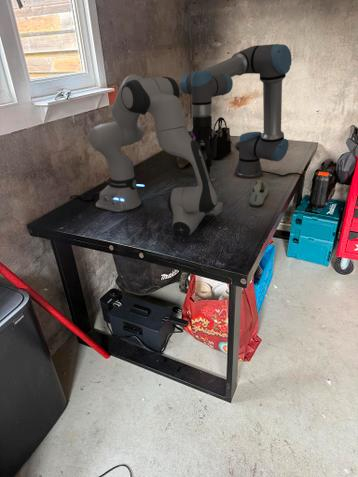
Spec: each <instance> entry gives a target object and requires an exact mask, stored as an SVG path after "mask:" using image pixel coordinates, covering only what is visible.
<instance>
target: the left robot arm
mask: <svg viewBox="0 0 358 477" xmlns="http://www.w3.org/2000/svg"><path fill="white" fill-rule="evenodd" d="M179 87H180V86H179V84H178V82H177V81H176V80H175V79H174V78H173V77H169V76H149V77H143V76H140V75H138V74H129V75H128V76H126V77H125V78H124V79H123V81H122V83H121V85H120V87H118V88H119V89H118V91H117V93H116V96H115V99H114V101H113V104H112V107H111V115H112V118H113V120H114V121H111V122H105V123H100V124H98V125H96V126H93V127H92V128H90V129H89V132H88V142H89V144H90V146H91V147H92V149H94V150H95V151H97V152H99V153H100V154H101V155H102V156H103V157H104V159H105V160H106V162H107V166H108V170H109V174H110V177H108V178H107V179H106V183H108V185H106V186H105V187H104V189H101V190H100V191H98V192H96V193H94V194H93V195H92V198H89V199H88V198H84V196H82V195H78V194H73V196H72V195H70V196H69V199H72V198H74V197H77V198H81V200H82V201H84V202H91V201H93V200H94V199H95V197H96V196H97V199H98V200H97V201H96V203H95V208H99V209H103V210H107V211H111V212H115V213H121V212H124V211H129V210H134V209H136V208H138V207H140V206H141V204H142V200H141V198H140V196H139V193H138V187H145V184H139V183H138V184H137V178H136V174H135V168H134V160H133V159H132V158H131V157H130V156H129V155H127V154H125V153H123V152H122V150H121V148H123V147H126V146H130V145H133V144H136V143H138V142H140V141H141V140H142V139H143V136H144V128H143V126H142V123H141V122H140V121H139V118H140V116H141V115H142V116H145V115H146V114H147V113H148V114H150V115H151V116H152V119H153V122H154V128H155V134H156V139H157V143H158V145H159V148H161V150H162V151H163V152H165V153H167V154H169V155H171V156H174V157H176V156H178V157H181V158H184V159H186V160H188V161H189V162H190V163H189V164H190V165H191V166H192V169H193V172H194V175H195V178H196V183H197V182H198V185H199V186H197V185H194V186H179V187H174V188H172V189H171V191H170V192H169V193H168V196H167V201H166V202H167V208H168V210H169V213H170V214H171V216H172V218H173V219H172V224H171V227H172V231H173V232H174V233H175V235H178V236H179V237H188V236H190V235H192V234H193V233H194V232H196V230H197V228H198V227H199V224H200V223H201V222H202V221H203V219H204V217H205V216H212V217H213V216H219V215H220V214H221V213H222V211H223V210H224V203H223V201H219V200H218V195H217V191H216V188H215V187H214V184H213V181H212V179H211V176H210V174H209V172H208V169H207V166H206V159H205V157H204V154H203V151H202V148H200V146H199V144H198V142H197V141H194V140H193V139H192V138H191V136H190V135H189V133H188V131H189V129H188V126H187V121H186V116H185V112H184V108H183V106H182V102H181V100H180V88H179Z"/></svg>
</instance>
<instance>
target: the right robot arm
mask: <svg viewBox="0 0 358 477" xmlns="http://www.w3.org/2000/svg"><path fill="white" fill-rule="evenodd" d="M292 61H293V58H292V52H291V50H290V48H289V47H288V46H287V45H286V44H280V43H272V44H260V45H259V44H258V45H253V46H249V47H247V48H245V49H242V50H240V51H238V52H235V53H233V54H232V55H231V57H230V58H228V59H225V60H223V61H221V62H218V63H216V64H214V65H211V66H210V67H206V68H204V69H202V70H196V71H193V72H192V73H188V74H184V75H182V77H181V78H180V81H179V87H180V91H181V92H182V93H183V94H185V95H190V96H191V107H192V108H191V114H192V129H191V130H188V131H189V132H188V133H189V135H190V136H191V138H192V139H193V134H194V135H195V137H196V138H195V141H197V142H198V144H199V146H200V142H201V141H204V143H205V147H204V148H205V155H206V159H205V163H206V166H207V169H208V172H209V175H210V173H211V167H212V166H213V160H214V159H213V158H215V157H216V154H217V138H218V136H219V133H215V132H214V131H213V128H212V126H213V116H212V114H213V110H212V106H213V104H212V101H213V100H212V99H213V97H214V98H215V97H219V96H224V95H227V94H230V93H231V91H232V89H233V85H234V81H233V77H235V76H237V77H238V76H243V75H247V74H251V75H253V74H254V75H255V74H256V75H257V74H258V75H259V81H261V83H262V100H263V101H262V102H263V103H262V104H263V106H262V107H263V108H262V109H263V110H262V111H263V114H262V115H263V116H262V117H263V132H261V131H250V132H244V133H242V134H240V136H239V141H238V142H239V150H238V162H237V165H236V167H235V170H234V174H235V176H236V177H239V178H243V179H255V178H259V177H261V176H262V175H263V173H265V174H269V175H275V176H279V177H287V176H289V175H292V176H293V175H298V176H300V177H301V178H305V176H304V174H302V173H300V172H287V173H285V174H280V173H277V172H273V171H267V170H263V169H262V165H261V160H267V161H270V162H280V161H282V160H283V159H284V158H285V156H286V154H287V152H288V150H289V145H290V144H289V141H288V139H287V138H285V133H284V132H283V131H282V110H283V109H282V102H283V81H284V79H285V78H286V75H287V74H288V73H289V71H290V70H291V66H292ZM211 134H212V138H213V139H212V152H211V146H210V138H209V137H210V135H211Z"/></svg>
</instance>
